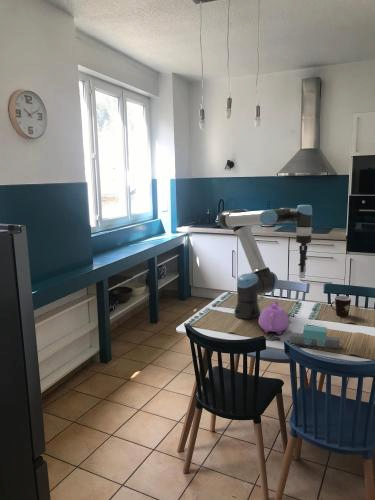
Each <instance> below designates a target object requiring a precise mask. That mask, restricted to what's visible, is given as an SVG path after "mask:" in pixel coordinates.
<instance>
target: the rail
mask: <svg viewBox="0 0 375 500" xmlns="http://www.w3.org/2000/svg"><path fill="white" fill-rule="evenodd" d="M340 341H341V340H340V337H339V336H329V335H326V340H324V345H323V346H319V341H318V339H310V345H306V344H305V338H303V333H301V332H300V333H299V332H290V333H289V343H290V342H291V343H292V344H291V345H297V346H299V345H300V346H309V347H318V348H325V349H335V350H339V349H340V344H341V343H340Z"/></svg>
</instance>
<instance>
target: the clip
mask: <svg viewBox="0 0 375 500" xmlns="http://www.w3.org/2000/svg"><path fill="white" fill-rule="evenodd" d="M302 331H303V333H302V334H303V338H304V341H305V344H306V345H310V342H311V339H317V341H318V342H319V346H323V345H324V343H325V340H326V336H327V326H319V325H318V326H316V325H315V326H314V325H303V330H302ZM306 345H305V346H306Z"/></svg>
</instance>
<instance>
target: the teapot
mask: <svg viewBox="0 0 375 500" xmlns="http://www.w3.org/2000/svg"><path fill="white" fill-rule="evenodd" d="M258 325H259V326H260V328H262V329H263V333H264V332H265V334H268V333H270V332H275V333H276V334H277V335H282V334H283V332H284V331H286V330H287V329H288V328H289V326H290V318H289V316H288V313H287V312H286V310H285V309H284V307H282V306H280V305H279V299H278V298H274V303H271V305H267V306H265V307H264V308H263V310H262V311H261V314H260V317H259V318H258Z"/></svg>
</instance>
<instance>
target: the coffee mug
mask: <svg viewBox="0 0 375 500" xmlns="http://www.w3.org/2000/svg"><path fill="white" fill-rule="evenodd" d="M351 302H352V298H351V297H349V296H345V295H337V296H334V301H332V302H331V303H330V308H331V309H332V310H334V311H335V315H336V316H337V317H339V316H340V318H347V317H349V313H350V308H351ZM334 303H335V305H334ZM333 305H334V306H335V308H334V307H333Z"/></svg>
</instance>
